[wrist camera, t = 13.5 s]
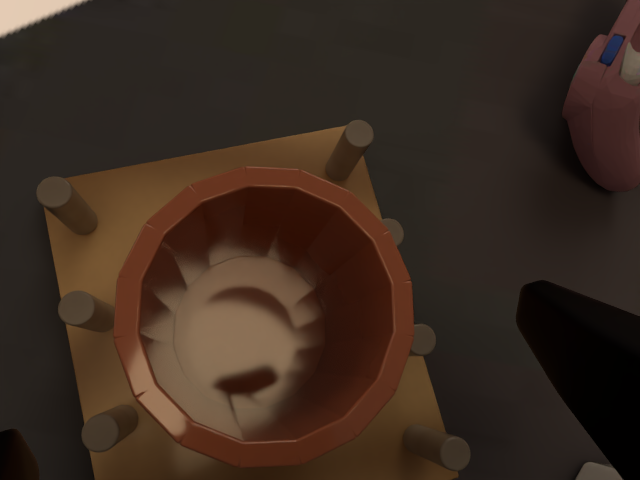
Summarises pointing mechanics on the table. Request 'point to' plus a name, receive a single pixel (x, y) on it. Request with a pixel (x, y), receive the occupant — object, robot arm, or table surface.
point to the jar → (598, 472)
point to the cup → (263, 317)
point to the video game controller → (609, 105)
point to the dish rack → (99, 307)
